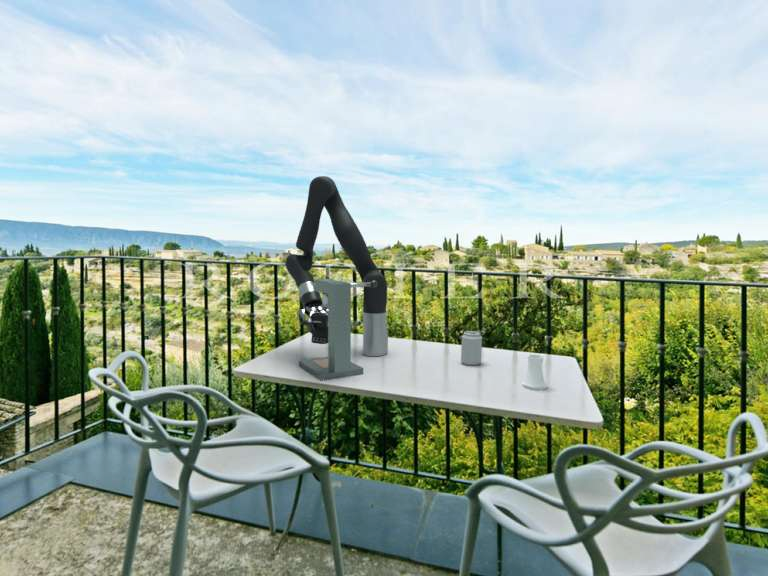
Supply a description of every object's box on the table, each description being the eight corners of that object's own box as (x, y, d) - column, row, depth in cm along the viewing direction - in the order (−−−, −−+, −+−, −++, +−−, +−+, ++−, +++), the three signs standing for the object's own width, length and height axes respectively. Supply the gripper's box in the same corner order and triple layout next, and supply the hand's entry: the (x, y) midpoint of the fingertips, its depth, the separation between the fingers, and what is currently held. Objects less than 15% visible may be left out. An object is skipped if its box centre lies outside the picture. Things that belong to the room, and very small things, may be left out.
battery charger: (308, 343, 181) (308, 313, 179) (313, 341, 185) (313, 311, 183) (325, 345, 179) (325, 314, 177) (330, 343, 182) (330, 312, 180)
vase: (541, 382, 163) (543, 353, 162) (549, 390, 155) (551, 359, 154) (519, 382, 162) (520, 353, 161) (526, 390, 155) (527, 359, 154)
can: (483, 362, 187) (484, 331, 186) (478, 367, 180) (479, 335, 179) (464, 359, 190) (465, 329, 189) (458, 364, 183) (459, 333, 182)
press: (363, 356, 193) (364, 276, 189) (390, 369, 176) (391, 281, 172) (298, 366, 179) (297, 279, 176) (320, 380, 162) (320, 284, 159)
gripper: (294, 291, 181) (306, 328, 173) (330, 289, 189) (343, 324, 180) (289, 303, 187) (301, 339, 178) (324, 300, 194) (337, 335, 185)
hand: (322, 332), depth 179 cm, fingers closed on battery charger, 6 cm apart
